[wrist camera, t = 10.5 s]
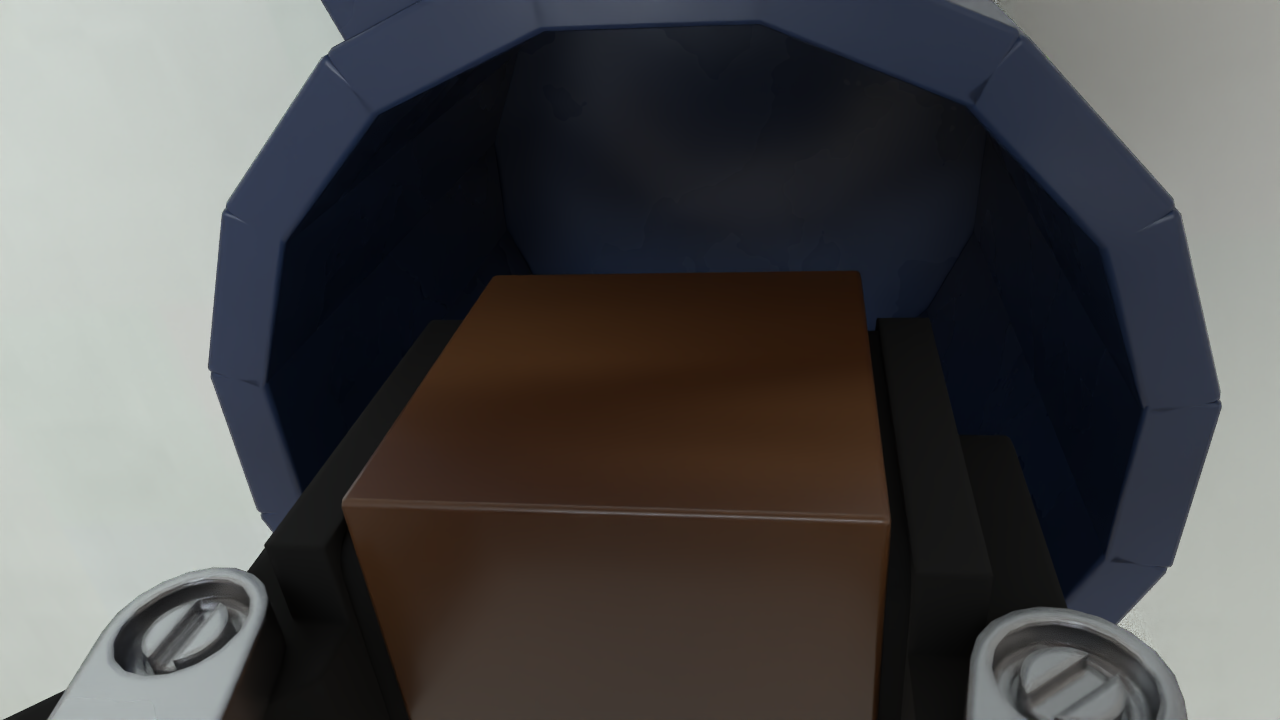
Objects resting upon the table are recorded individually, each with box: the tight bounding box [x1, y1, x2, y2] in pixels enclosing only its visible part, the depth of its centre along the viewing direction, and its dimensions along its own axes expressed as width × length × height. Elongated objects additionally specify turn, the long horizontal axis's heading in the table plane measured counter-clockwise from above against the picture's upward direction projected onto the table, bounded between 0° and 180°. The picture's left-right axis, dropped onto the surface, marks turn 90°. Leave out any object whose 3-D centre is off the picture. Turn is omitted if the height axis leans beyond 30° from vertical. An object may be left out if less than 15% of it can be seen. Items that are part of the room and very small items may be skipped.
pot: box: [208, 0, 1222, 625], centre depth 14 cm, size 11×16×10 cm, turn 26°
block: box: [341, 271, 891, 720], centre depth 9 cm, size 4×4×4 cm
